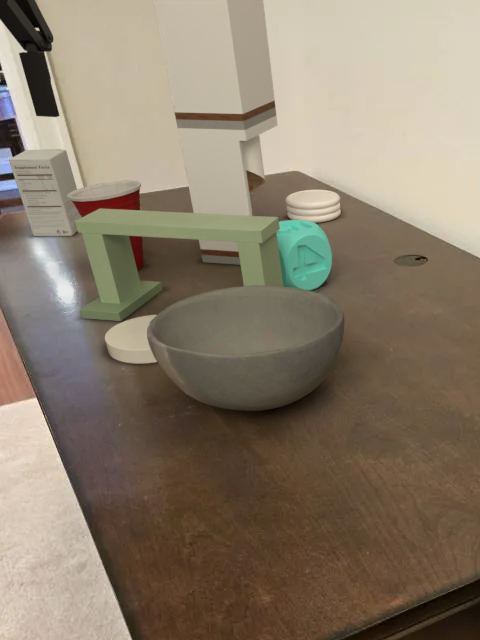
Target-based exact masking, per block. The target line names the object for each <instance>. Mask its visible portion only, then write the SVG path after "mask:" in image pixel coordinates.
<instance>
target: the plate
mask: <svg viewBox="0 0 480 640" xmlns="http://www.w3.org/2000/svg"><path fill="white" fill-rule="evenodd" d="M157 315H158V314H150V315H143V316H137V317H134V318H131V319H130V318H129V319H127V320H125V321H121V322H119V323H117V324H115V325H113V326H112V327H111V328H109V329H108V330H107V331H106V332H105V334H104V342H105V345H106V349H107V353H108V355H109V356H110V357H111V358H112V359H114V360H116V361H118V362H121V363H126V364H137V365H138V364H139V365H140V364H142V365H143V364H154V363H158V362H157V361H156V359H155V357H154V355H153V353H152V351H151V349H150V346H149V343H148V339H147V328H148V326H149V323H150V321H151V320H152V319H153V318H154V317H155V316H157Z"/></svg>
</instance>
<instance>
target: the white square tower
mask: <svg viewBox="0 0 480 640" xmlns="http://www.w3.org/2000/svg"><path fill="white" fill-rule="evenodd" d="M152 1H153V6H154V12H155V16H156V17H155V18H156V22H157V27H158V32H159V37H160V44H161V48H162V54H163V59H164V63H165V64H164V65H165V69H166V70H165V71H166V74H167V79H168V80H167V81H168V84H169V90H170V96H171V101H172V106H173V111H174V116H175V121H176V122H175V123H176V127H177V132H178V137H179V145H180V148H181V154H182V159H183V164H184V170H185V175H186V179H187V185H188V190H189V196H190V202H191V206H192V213H203V214H224V215H244V216H254V215H253V209H252V204H251V203H252V202H251V196H250V194H252V193H254V192H256V191H257V190H259V189H260V188H261V187H263V186H264V185H265V184H266V176H265V169H264V161H263V153H262V147H261V146H262V145H261V137H260V135H262V134H263V133H265V132H267V131H270V130H271V129H274V128H276V127H278V125H279V124H278V117H277V109H276V100H275V91H274V83H273V73H272V66H271V57H270V56H271V55H270V49H269V47H270V46H269V39H268V30H267V21H266V13H265V4H264V0H152ZM198 243H199V250H200V255H201V261H202V263H209V264H210V263H211V264H223V265H236V266H237V265H238V266H241V265H240V258H239V252H238V245H237V242H232V241H214V240H198Z"/></svg>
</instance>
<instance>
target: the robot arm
mask: <svg viewBox="0 0 480 640" xmlns="http://www.w3.org/2000/svg"><path fill="white" fill-rule="evenodd" d="M0 21H1V22H2V24H3V25H4V26H5V28H6V29H7V30H8V31H9V33H10V34H11V35H12V37H13V38H14V39H15V40H16V42H17V43H18V44H19V45H20V48H22V49H23V50H24V51H23V52H19V53H18V55H19V60H20V62H21V67H22V69H23V73H24V77H25V80H26V84H27V87H28V91H29V94H30V98H31V102H32V105H33V109H34V112H35V113H34V114H35V117H43V118H45V117H46V118H57V117H60V112H59V109H58V105H57V101H56V96H55V92H54V88H53V86H52V85H53V84H52V78H51V73H50V69H49V66H48V61H47V58H46V57H47V56H46V54H45V53H46V52H47V53H48V52H49V53H51V52H52V50H53V44H52V43H54V35H53V32H52V31H51V29H50V27H49V25H48V23H47V20H46V18H45V17H44V15H43V13H42V12H41V9H40V7H39V5H38V3H37V2H36V0H0ZM37 29H38V30H37Z"/></svg>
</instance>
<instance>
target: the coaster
mask: <svg viewBox="0 0 480 640" xmlns="http://www.w3.org/2000/svg"><path fill="white" fill-rule="evenodd" d="M340 200H341V197H340V195H339V194H338V193H337V192H335V191H333V190H328V189H327V190H326V189H306V190H300V191H295V192H292V193H290V194H288V195H287V196H286V198H285V204H286V207H285V208H286V216H287V217H288V218H289V220H306V221H311V222H314V223H316V224H318V223H319V224H320V223H324V222H325V223H327V222H329V221H333V220H335V219H337V218H339V216H340V215H341V212H342V210H341V202H340Z"/></svg>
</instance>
